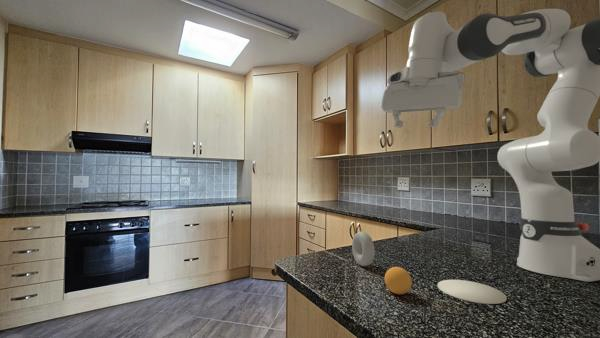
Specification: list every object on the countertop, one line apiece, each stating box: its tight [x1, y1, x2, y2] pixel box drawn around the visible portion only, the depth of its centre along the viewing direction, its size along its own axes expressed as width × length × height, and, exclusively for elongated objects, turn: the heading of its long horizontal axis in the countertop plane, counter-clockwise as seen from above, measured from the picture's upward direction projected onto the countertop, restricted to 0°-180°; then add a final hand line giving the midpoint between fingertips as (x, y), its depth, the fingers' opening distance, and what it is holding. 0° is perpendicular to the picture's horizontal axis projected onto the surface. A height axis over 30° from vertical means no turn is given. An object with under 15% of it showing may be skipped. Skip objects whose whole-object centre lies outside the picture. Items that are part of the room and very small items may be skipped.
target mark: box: [437, 279, 508, 305], centre depth 59 cm, size 13×13×1 cm
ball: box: [384, 266, 413, 295], centre depth 57 cm, size 6×6×6 cm
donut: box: [351, 231, 375, 267], centre depth 77 cm, size 10×4×10 cm, turn 15°
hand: (415, 127), depth 70 cm, fingers open, 8 cm apart
